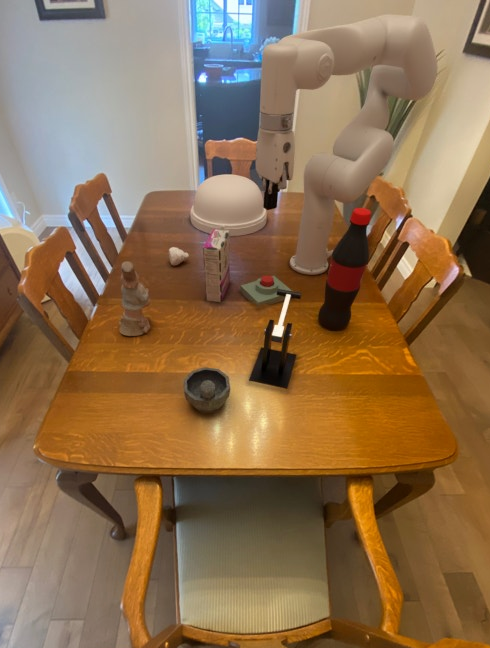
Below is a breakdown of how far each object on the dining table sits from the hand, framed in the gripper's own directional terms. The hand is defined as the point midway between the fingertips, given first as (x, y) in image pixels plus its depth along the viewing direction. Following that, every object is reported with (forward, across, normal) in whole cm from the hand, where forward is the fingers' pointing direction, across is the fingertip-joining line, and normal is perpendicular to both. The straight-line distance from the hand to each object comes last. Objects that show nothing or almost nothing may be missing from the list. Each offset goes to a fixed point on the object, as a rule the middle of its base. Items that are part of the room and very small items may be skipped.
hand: (270, 207), depth 95 cm
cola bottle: (+23, -26, -5) cm, 35 cm away
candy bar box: (+23, +4, +14) cm, 27 cm away
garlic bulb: (+23, +25, +17) cm, 38 cm away
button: (+19, -4, +2) cm, 20 cm away
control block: (+23, -4, +2) cm, 23 cm away
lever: (+11, -29, +15) cm, 34 cm away
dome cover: (+24, +47, -15) cm, 55 cm away
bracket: (+22, -32, +19) cm, 44 cm away
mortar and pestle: (+22, -35, +38) cm, 56 cm away
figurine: (+22, -1, +41) cm, 47 cm away
